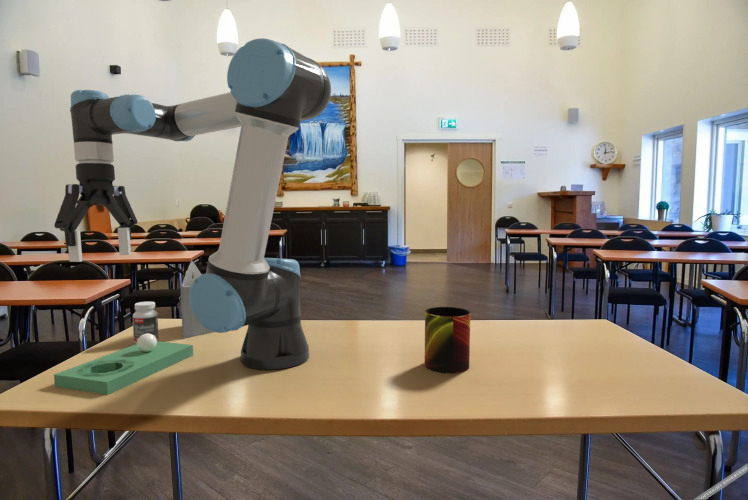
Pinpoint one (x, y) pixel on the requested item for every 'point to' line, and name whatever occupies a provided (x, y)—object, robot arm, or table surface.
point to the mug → (447, 339)
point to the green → (121, 368)
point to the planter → (189, 319)
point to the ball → (146, 342)
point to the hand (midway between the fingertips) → (102, 258)
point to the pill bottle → (145, 320)
